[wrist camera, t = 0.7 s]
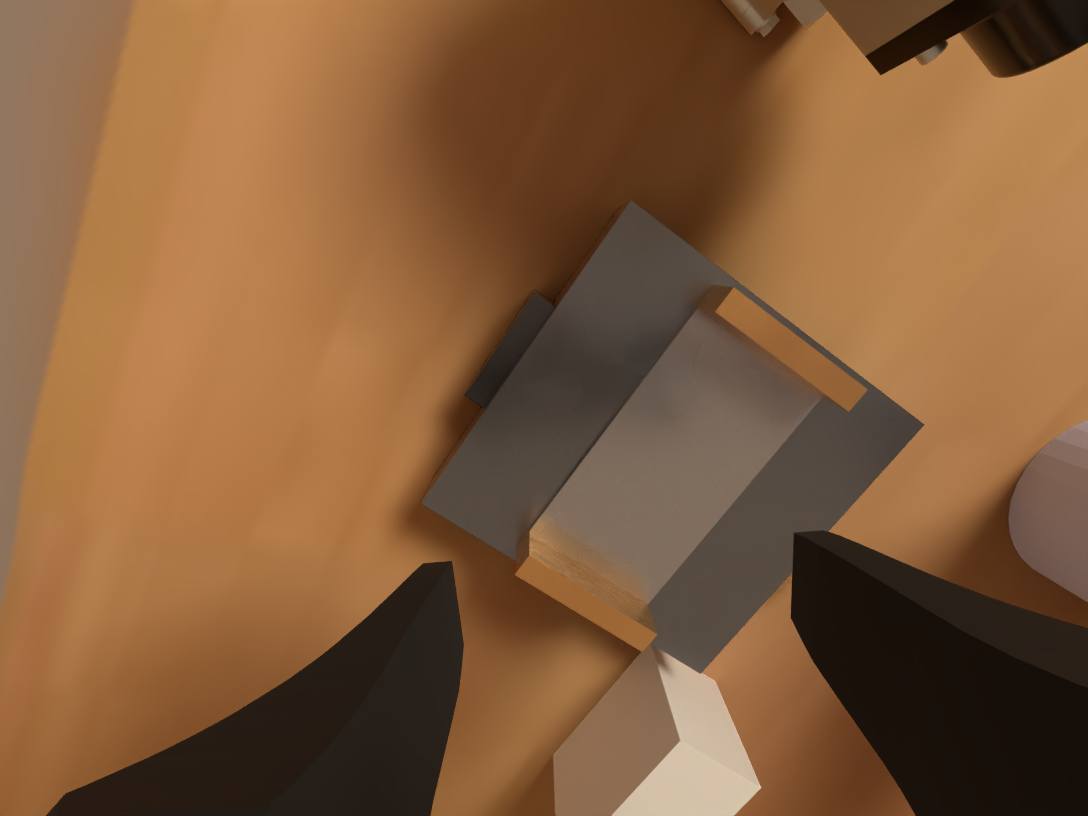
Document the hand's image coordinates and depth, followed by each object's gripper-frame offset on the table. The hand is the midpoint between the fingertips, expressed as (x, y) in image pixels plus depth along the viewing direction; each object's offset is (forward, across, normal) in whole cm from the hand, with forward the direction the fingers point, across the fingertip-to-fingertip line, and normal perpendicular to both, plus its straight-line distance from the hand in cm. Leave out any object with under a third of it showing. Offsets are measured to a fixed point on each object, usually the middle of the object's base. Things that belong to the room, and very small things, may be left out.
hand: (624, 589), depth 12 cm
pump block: (+10, -1, +13) cm, 16 cm away
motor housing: (+9, -2, 0) cm, 10 cm away
